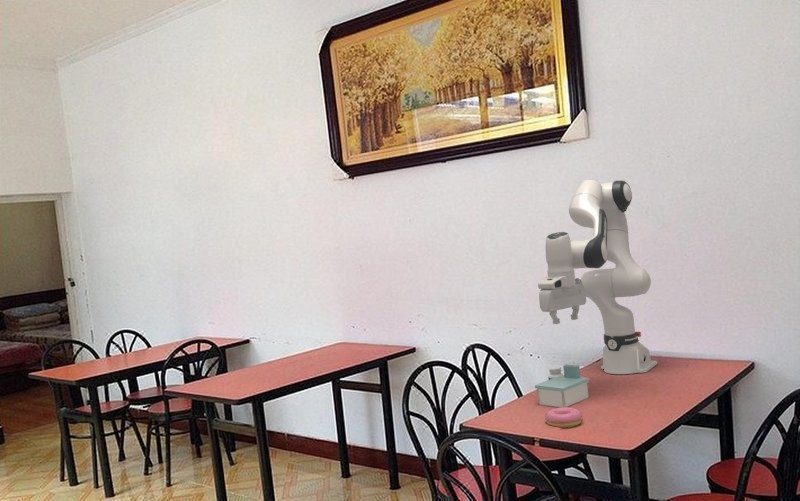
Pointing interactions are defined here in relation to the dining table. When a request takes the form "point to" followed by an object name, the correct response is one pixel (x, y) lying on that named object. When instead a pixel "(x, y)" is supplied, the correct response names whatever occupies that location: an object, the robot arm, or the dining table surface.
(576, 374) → the lid
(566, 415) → the doughnut
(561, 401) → the tub
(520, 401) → the dining table surface
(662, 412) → the dining table surface
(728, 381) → the dining table surface
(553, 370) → the pill bottle
